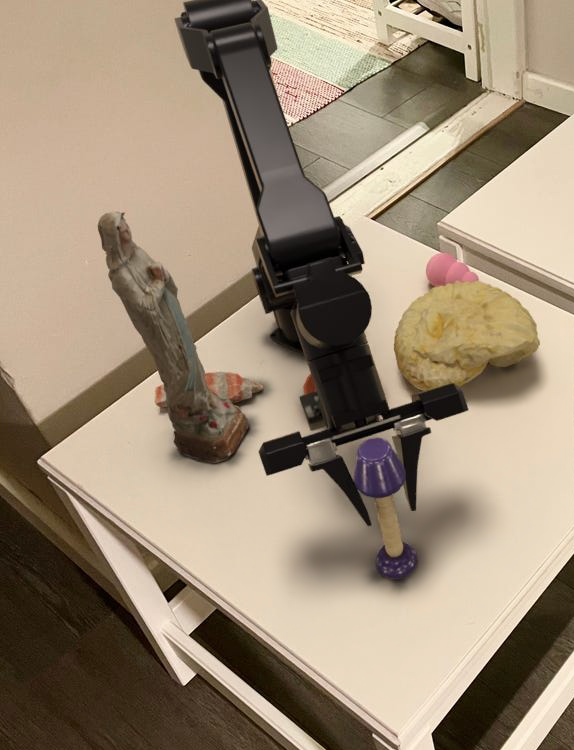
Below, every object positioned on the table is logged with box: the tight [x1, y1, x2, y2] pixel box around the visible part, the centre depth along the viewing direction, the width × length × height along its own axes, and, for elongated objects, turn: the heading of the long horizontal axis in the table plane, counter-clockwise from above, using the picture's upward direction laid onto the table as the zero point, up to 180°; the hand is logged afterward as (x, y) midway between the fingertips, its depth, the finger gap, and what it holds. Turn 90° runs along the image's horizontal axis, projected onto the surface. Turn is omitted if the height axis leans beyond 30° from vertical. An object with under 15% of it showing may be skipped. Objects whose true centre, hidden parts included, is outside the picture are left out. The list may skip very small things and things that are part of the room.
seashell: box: [393, 279, 541, 392], centre depth 104 cm, size 17×11×15 cm
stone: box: [154, 371, 264, 407], centre depth 106 cm, size 12×2×5 cm
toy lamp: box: [353, 437, 419, 580], centre depth 84 cm, size 5×5×17 cm
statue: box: [97, 211, 250, 464], centre depth 91 cm, size 8×7×30 cm
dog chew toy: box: [425, 252, 480, 287], centre depth 116 cm, size 4×4×7 cm
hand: (391, 518), depth 83 cm, fingers closed on toy lamp, 4 cm apart
